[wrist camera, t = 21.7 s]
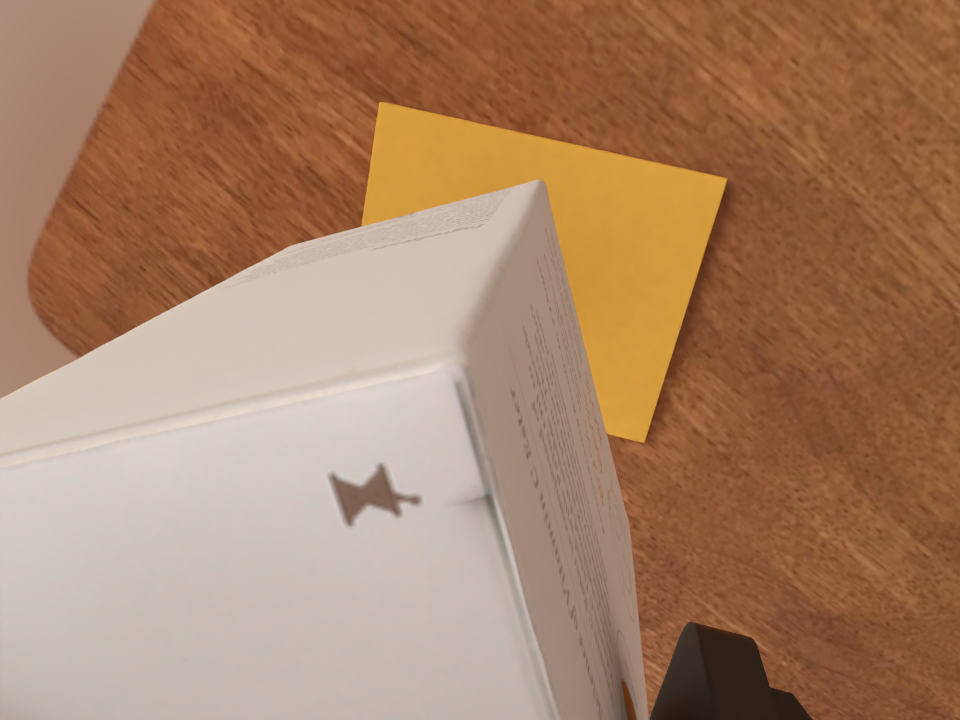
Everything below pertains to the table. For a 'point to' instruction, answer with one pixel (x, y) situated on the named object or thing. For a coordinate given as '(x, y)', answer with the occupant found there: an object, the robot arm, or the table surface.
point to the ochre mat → (572, 234)
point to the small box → (329, 495)
